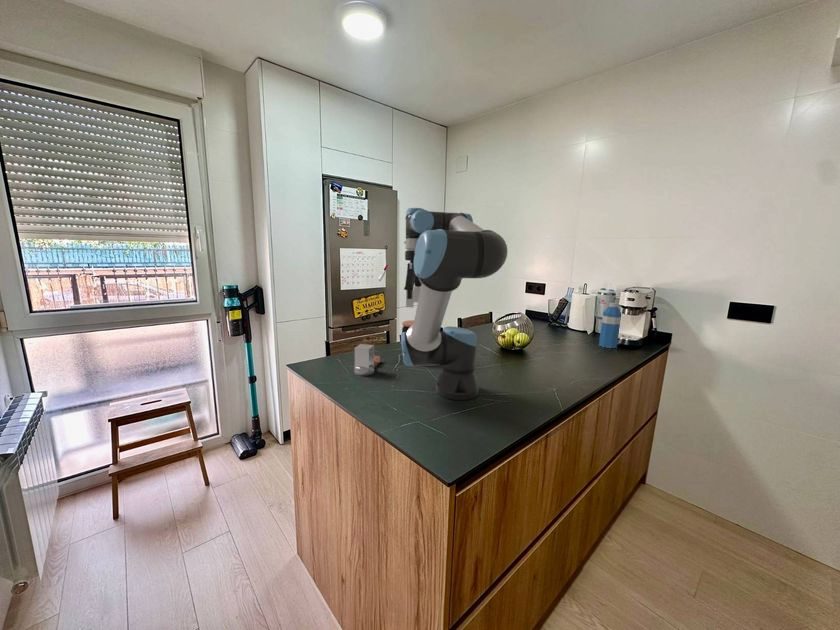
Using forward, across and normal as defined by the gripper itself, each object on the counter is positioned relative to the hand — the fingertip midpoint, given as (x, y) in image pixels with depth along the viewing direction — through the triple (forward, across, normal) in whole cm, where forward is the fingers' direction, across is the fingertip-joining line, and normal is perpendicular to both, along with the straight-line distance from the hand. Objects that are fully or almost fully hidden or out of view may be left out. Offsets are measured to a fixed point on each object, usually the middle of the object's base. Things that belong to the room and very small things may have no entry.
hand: (413, 304), depth 132 cm
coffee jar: (+29, -15, -3) cm, 32 cm away
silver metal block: (+26, +4, -19) cm, 32 cm away
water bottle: (+29, -68, +97) cm, 122 cm away
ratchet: (+29, -1, -19) cm, 34 cm away
